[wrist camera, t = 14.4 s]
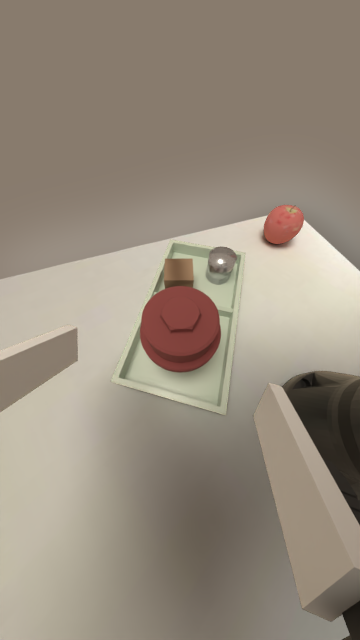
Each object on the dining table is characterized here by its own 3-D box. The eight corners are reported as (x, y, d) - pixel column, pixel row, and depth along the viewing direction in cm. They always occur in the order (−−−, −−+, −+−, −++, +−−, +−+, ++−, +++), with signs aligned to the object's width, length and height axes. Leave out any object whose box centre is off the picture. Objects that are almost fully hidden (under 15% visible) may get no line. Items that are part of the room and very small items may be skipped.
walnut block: (190, 277, 35) (192, 258, 30) (191, 297, 32) (193, 280, 28) (166, 277, 35) (164, 258, 30) (166, 297, 32) (163, 280, 28)
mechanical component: (140, 339, 28) (188, 312, 31) (170, 393, 25) (222, 357, 27) (114, 299, 17) (193, 261, 20) (162, 385, 14) (252, 325, 16)
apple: (287, 231, 42) (309, 196, 35) (291, 252, 39) (316, 218, 31) (257, 228, 42) (273, 193, 35) (258, 248, 39) (275, 214, 32)
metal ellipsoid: (230, 268, 36) (238, 249, 31) (227, 286, 33) (235, 268, 29) (207, 264, 36) (211, 244, 32) (203, 281, 34) (206, 263, 30)
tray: (240, 264, 37) (245, 252, 34) (220, 414, 24) (225, 415, 21) (171, 251, 39) (170, 239, 36) (117, 384, 26) (110, 381, 23)
